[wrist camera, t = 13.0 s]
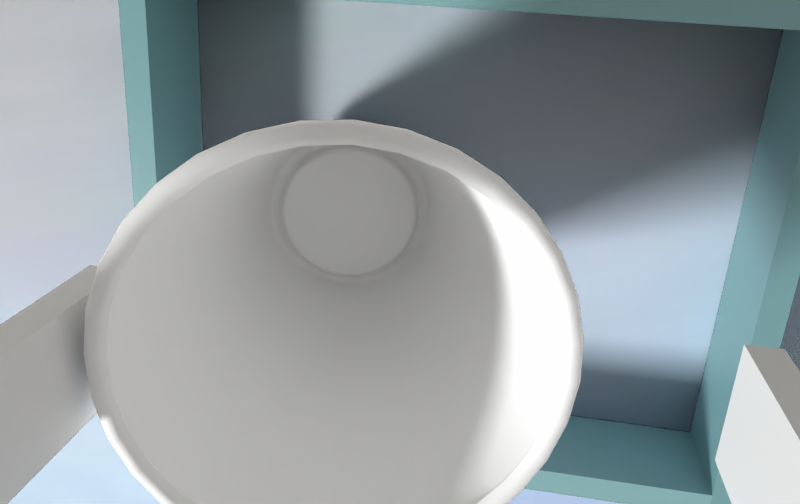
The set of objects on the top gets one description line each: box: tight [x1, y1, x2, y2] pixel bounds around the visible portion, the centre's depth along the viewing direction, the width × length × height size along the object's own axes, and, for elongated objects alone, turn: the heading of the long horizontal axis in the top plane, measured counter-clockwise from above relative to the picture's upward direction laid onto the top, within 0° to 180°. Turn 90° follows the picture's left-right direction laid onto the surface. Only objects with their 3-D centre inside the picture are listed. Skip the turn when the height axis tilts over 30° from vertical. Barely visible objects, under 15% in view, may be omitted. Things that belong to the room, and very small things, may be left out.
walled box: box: [118, 0, 800, 504], centre depth 23 cm, size 16×20×4 cm
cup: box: [83, 120, 584, 504], centre depth 20 cm, size 10×10×11 cm
